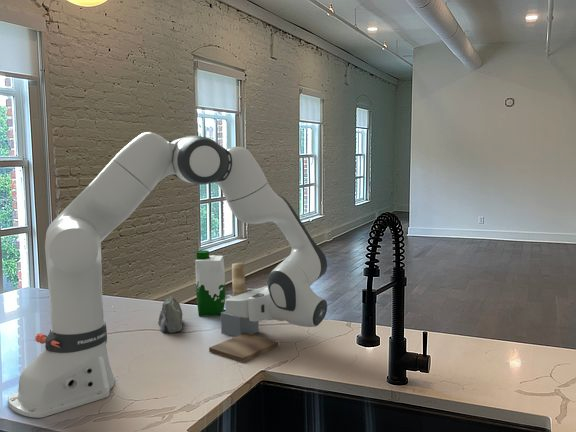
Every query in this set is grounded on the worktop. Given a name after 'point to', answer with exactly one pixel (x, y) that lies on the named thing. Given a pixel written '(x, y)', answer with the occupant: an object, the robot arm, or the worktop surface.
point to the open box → (237, 325)
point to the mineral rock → (170, 316)
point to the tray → (243, 347)
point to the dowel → (238, 278)
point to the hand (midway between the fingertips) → (236, 294)
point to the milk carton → (210, 284)
